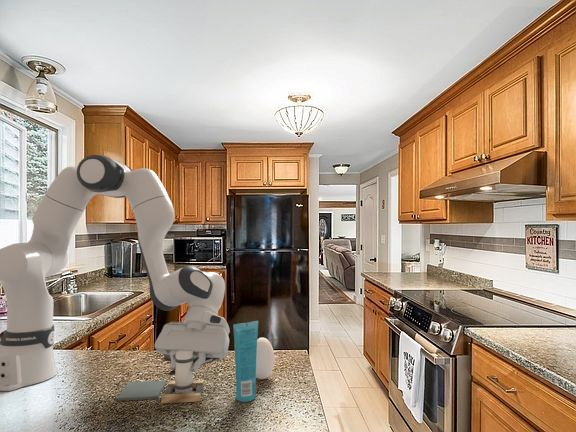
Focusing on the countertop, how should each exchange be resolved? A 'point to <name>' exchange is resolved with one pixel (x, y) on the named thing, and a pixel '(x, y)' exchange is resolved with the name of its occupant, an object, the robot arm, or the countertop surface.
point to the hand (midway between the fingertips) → (183, 370)
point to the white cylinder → (183, 371)
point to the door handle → (193, 359)
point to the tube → (245, 359)
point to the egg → (264, 358)
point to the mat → (142, 390)
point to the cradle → (185, 397)
